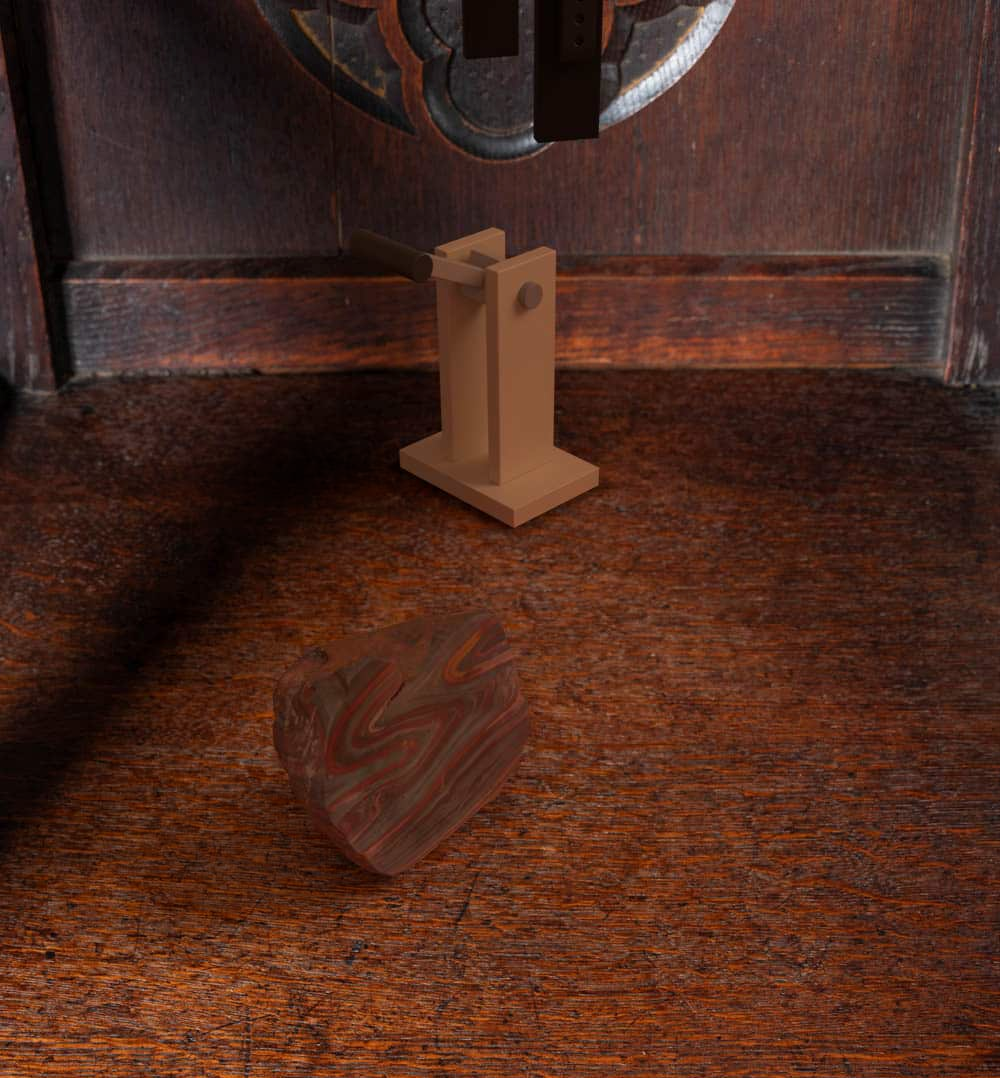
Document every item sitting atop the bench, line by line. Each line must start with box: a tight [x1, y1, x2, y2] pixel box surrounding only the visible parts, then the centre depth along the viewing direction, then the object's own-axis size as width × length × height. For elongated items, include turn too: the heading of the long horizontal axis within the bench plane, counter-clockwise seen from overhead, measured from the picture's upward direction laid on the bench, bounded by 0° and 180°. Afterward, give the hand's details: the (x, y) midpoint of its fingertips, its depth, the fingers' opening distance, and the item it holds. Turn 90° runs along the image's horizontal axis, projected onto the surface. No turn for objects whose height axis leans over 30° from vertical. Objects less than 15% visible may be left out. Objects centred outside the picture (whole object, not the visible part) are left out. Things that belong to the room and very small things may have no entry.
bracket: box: [398, 226, 600, 529], centre depth 82 cm, size 7×10×14 cm
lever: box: [348, 228, 508, 305], centre depth 76 cm, size 10×5×2 cm, turn 135°
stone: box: [272, 608, 532, 877], centre depth 60 cm, size 13×8×10 cm
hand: (525, 94), depth 67 cm, fingers open, 13 cm apart
